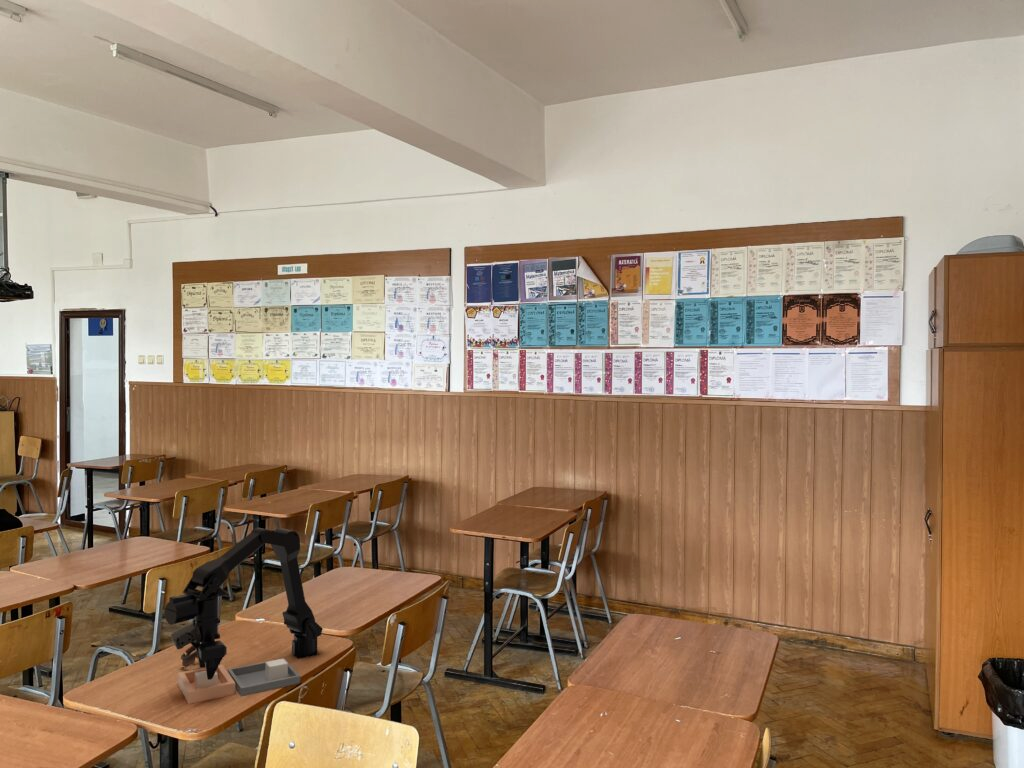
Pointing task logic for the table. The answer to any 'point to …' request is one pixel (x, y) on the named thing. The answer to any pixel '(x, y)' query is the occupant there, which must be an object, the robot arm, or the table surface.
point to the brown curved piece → (189, 656)
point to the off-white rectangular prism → (276, 669)
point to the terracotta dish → (205, 693)
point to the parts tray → (259, 679)
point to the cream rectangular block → (205, 680)
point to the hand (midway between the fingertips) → (206, 673)
